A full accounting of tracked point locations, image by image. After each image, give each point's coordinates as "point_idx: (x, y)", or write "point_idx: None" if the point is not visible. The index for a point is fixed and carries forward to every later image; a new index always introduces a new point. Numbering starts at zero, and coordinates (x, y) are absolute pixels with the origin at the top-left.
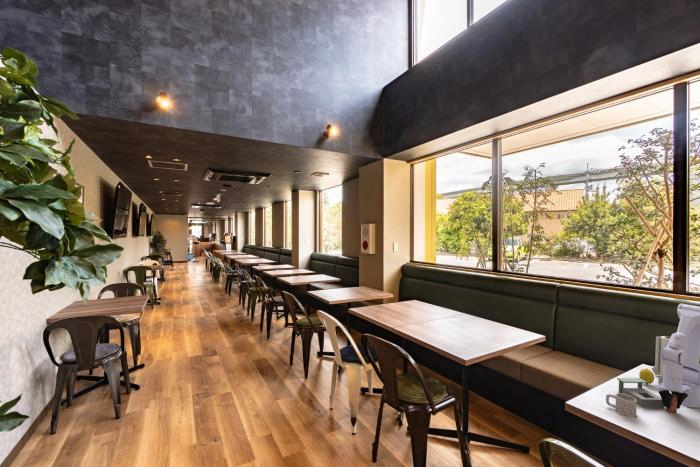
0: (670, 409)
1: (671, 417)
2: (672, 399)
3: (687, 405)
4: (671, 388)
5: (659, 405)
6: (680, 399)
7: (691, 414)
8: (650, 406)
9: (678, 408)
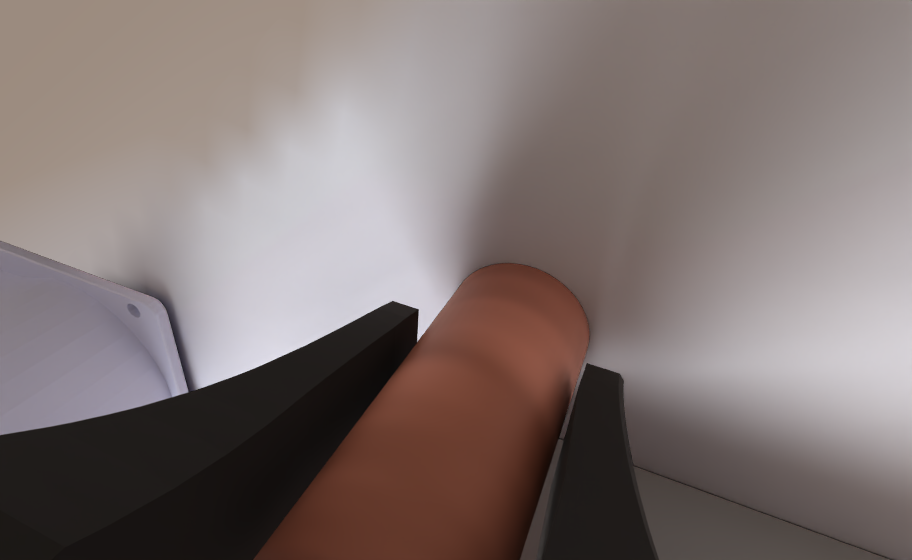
0: (573, 350)
1: (814, 196)
2: (471, 536)
3: (158, 327)
4: None
5: None
6: (254, 443)
7: (269, 181)
8: (761, 526)
9: (404, 310)
